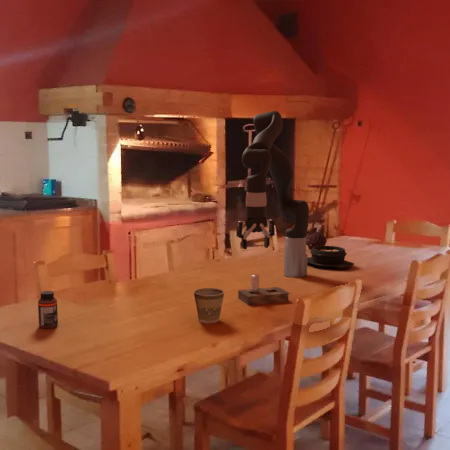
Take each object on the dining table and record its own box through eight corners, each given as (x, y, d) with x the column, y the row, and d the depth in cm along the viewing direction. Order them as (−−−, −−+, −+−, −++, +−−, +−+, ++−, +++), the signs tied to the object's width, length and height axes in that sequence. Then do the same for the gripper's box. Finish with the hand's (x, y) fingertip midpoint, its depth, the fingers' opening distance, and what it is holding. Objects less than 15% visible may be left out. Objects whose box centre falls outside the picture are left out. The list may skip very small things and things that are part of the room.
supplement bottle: (40, 323, 207) (39, 289, 205) (59, 323, 208) (58, 289, 206) (37, 329, 201) (35, 294, 200) (56, 329, 202) (55, 294, 200)
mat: (279, 288, 256) (279, 287, 256) (290, 294, 246) (290, 293, 246) (257, 290, 252) (257, 289, 252) (267, 296, 243) (267, 295, 243)
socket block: (276, 295, 244) (277, 286, 244) (288, 302, 235) (288, 293, 235) (238, 299, 239) (238, 290, 238) (248, 306, 230) (248, 296, 229)
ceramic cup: (213, 327, 205) (213, 297, 204) (187, 321, 210) (187, 292, 209) (233, 317, 216) (234, 288, 214) (209, 312, 221) (209, 284, 220)
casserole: (294, 265, 300) (295, 247, 299) (315, 259, 314) (316, 242, 313) (341, 273, 284) (342, 254, 283) (361, 266, 298) (362, 249, 297)
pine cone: (318, 247, 346) (319, 229, 344) (333, 249, 339) (334, 231, 338) (299, 251, 333) (299, 232, 331) (314, 254, 326) (315, 235, 325)
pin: (256, 300, 238) (257, 274, 236) (260, 302, 235) (260, 275, 233) (249, 300, 237) (249, 274, 235) (252, 303, 234) (253, 276, 232)
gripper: (269, 202, 236) (268, 245, 239) (234, 204, 231) (233, 247, 234) (278, 204, 229) (277, 249, 232) (241, 206, 225) (241, 251, 227)
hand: (255, 248), depth 233 cm, fingers open, 8 cm apart
